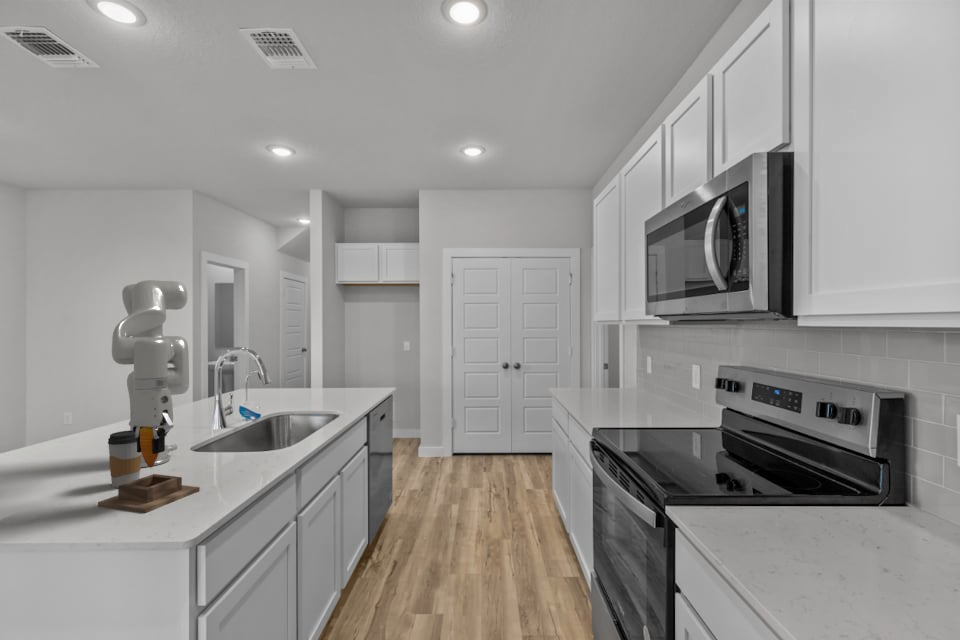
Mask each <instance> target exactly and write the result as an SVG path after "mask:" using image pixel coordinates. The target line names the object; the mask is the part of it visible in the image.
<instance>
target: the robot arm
mask: <svg viewBox="0 0 960 640" xmlns="http://www.w3.org/2000/svg"><path fill="white" fill-rule="evenodd" d="M121 297H122V302H123V306H124V308H125V311H126V312H127V316H126V317H124V318H122V319H121V320H120V321H119V323H117V324H116V326H115V327H114V329H113V332H112V336H111V337H112V338H111V356H112V359H113V361H114V362H115V363H116V364H118V365H123V366H124V365H133V371H131V372H130V373H129V374H128V375H127V377H126V387H127V392H128V398H129V409H130V410H129V413H130V415H129V418H130V420H129V422H128V425H129V429H130V430H133V431H134V432H135V437H138V438H137V452H138V453H140V452H142V451H141V446H140V429H141V428H142V427H150V428H152V429H153V434H154V438H155V439H152V454H157V453H159V454H158V457H157V460H156V462H155V463H154V465H153V466H158V465H162V464H165V463H166V462H169V461H170V460H171V455H170V454H169V453H170V452H172V451H176V450H177V449H178V445H177V444H172V445H166V444H165V443H166V442H165V441H166V437H167V434H168V433H169V432H170V430H172V429H173V428H174V426H175V425H174V409H173V406H174V405H173V399H172V396H174V395H175V396H176V395H177V396H178V395H183V394H185V393H187V392H188V390H189V388H190V364H189V363H190V359H189V358H190V357H189V356H190V355H189V352H190V351H189V346H188V342H187V339H186V338H185V337H182V336H179V335H169V336H168V335H166V336H165V335H164V333H163V331H164V330H163V329H164V328H163V324H164V323H165V322H166V319H167V310H171V311H173V310H175V311H176V310H181V309H183V308H184V307H185V306H186V305H187V303H188V291H187V287H186V286H185V285H184V284H183V283H182V282H181V281H175V280H173V281H172V280H147V279H146V280H141V281H138V282H137V283H133V284H129V285H126V286H124V287H123V289H122V293H121ZM168 364H170V365H172V366H173V367H168ZM159 428H160V429H161V430H160V431H159V432H158V429H159ZM130 430H129V431H130ZM153 466H152V467H153ZM146 467H148V468H149V466H148V465H147V464H146V462H145V460H144V458H143V455H141V467H140V468H146Z"/></svg>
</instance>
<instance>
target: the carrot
mask: <svg viewBox="0 0 960 640" xmlns="http://www.w3.org/2000/svg"><path fill="white" fill-rule="evenodd" d="M160 430H161V429H160V428H159V429H158V432H159V431H160ZM152 439H155V438H154V434H153V429H152V428H150V427H142V428H141V429H140V446H141V451H142V455H143V458H144V460H145V462H146V464H147V465H148V468H153V465H154V463H155V462H156V460H157V457H158V454H159V453H157V454H152ZM154 466H155V465H154Z"/></svg>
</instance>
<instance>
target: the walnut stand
mask: <svg viewBox="0 0 960 640" xmlns="http://www.w3.org/2000/svg"><path fill="white" fill-rule="evenodd" d="M117 490H118V491H117V495H114V496H112V497H109V498H106V499H103V500H101V501H98V502H97V507H102V508H109V509H114V510H115V509H116V510H120V511H121V510H122V511H129V512H135V513H143V514H147V513H149V512H151V511H154V510H156V509H159V508H161V507H163V506H166V505H168V504H171V503H173V502H176V501H178V500H181V499H183V498H185V497H188V496H191V495H193V494H195V493H199V492H200V490H201V489H200V486H193V485H184V484H183V477H182V476H174V475H167V474H166V475H165V474H158V473H153V474H151V475H147V476H144V477H141V478H140V477H139V479H137V480H134V481H131V482H128V483H125V484H122V485H119V486H118V488H117Z"/></svg>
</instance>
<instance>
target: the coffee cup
mask: <svg viewBox="0 0 960 640" xmlns="http://www.w3.org/2000/svg"><path fill="white" fill-rule="evenodd" d="M137 438H138V437H135V432H134V431H133V430H123V431H118V432H112V433H111V434H109V438H108V439H107V445H108V454H109V458H108V459H109V471H110V477H111V486H112V487H113V488H114V489H118V486H119V485H122V484H125V483H128V482H131V481H134V480H137V479H140V475H141V474H140V473H141V468H142V467H141V455H142V452H140V453H138V452H137Z"/></svg>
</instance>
